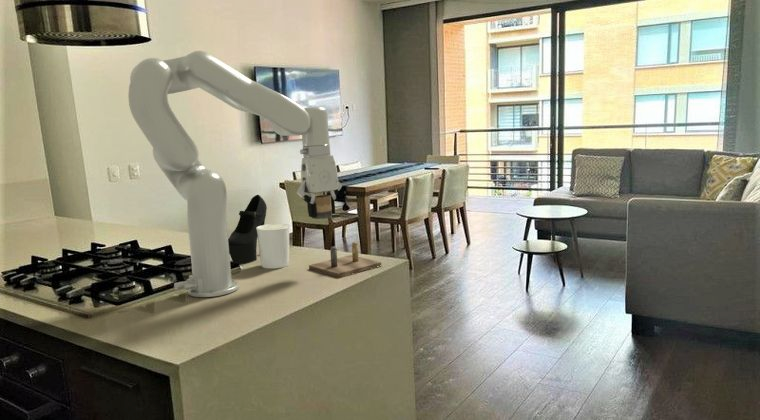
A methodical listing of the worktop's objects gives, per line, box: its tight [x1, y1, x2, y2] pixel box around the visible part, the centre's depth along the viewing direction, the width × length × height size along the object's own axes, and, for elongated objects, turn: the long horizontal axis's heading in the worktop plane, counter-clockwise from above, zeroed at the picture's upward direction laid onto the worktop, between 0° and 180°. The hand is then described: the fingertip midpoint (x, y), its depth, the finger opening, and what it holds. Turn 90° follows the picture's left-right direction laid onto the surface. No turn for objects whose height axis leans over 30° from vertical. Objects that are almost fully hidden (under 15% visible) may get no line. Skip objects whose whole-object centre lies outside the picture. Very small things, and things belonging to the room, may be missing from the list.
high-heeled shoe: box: [228, 194, 268, 264], centre depth 174 cm, size 8×19×20 cm, turn 158°
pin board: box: [308, 241, 382, 278], centre depth 160 cm, size 16×14×7 cm
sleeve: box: [311, 194, 333, 220], centre depth 156 cm, size 6×6×6 cm
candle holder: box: [256, 223, 290, 270], centre depth 166 cm, size 10×10×12 cm
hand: (322, 214), depth 157 cm, fingers closed on sleeve, 5 cm apart
